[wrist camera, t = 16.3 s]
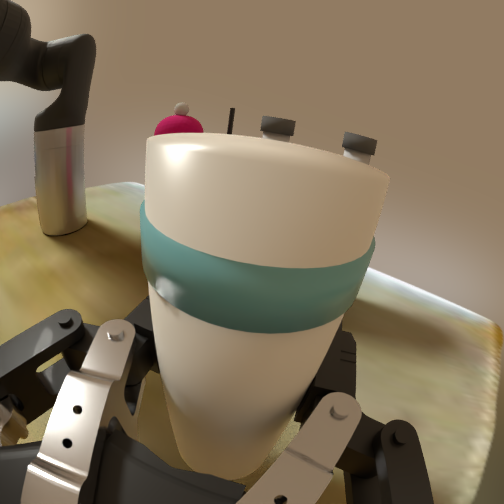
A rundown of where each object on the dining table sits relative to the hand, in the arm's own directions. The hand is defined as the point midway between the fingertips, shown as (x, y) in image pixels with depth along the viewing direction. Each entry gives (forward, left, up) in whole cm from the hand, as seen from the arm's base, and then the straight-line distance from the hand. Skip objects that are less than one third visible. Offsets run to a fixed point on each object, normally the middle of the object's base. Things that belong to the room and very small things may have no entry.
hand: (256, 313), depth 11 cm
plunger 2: (+4, +18, +1) cm, 19 cm away
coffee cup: (0, -3, -7) cm, 8 cm away
